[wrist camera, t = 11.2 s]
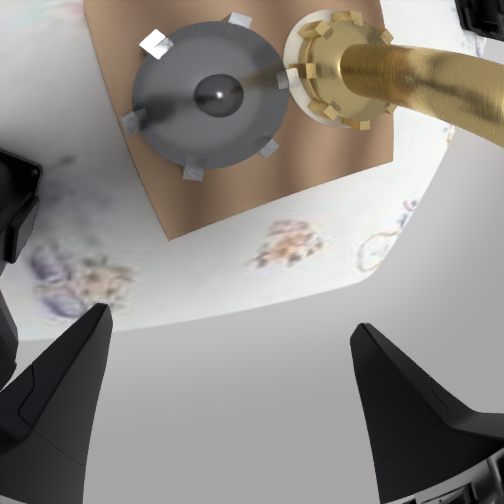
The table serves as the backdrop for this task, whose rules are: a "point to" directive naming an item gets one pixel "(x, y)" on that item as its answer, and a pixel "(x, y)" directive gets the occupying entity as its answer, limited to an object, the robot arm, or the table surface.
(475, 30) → the end cap
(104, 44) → the carrier board
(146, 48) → the sun gear
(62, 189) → the table surface
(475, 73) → the gear
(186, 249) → the table surface
